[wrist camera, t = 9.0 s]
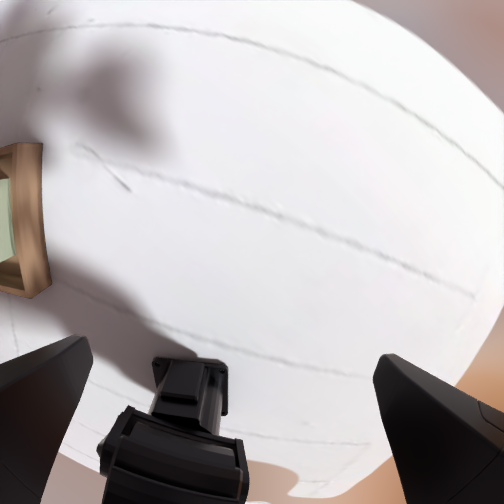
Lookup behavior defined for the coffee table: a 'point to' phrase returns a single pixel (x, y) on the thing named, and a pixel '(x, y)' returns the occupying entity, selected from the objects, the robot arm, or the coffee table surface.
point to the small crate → (6, 222)
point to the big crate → (25, 221)
